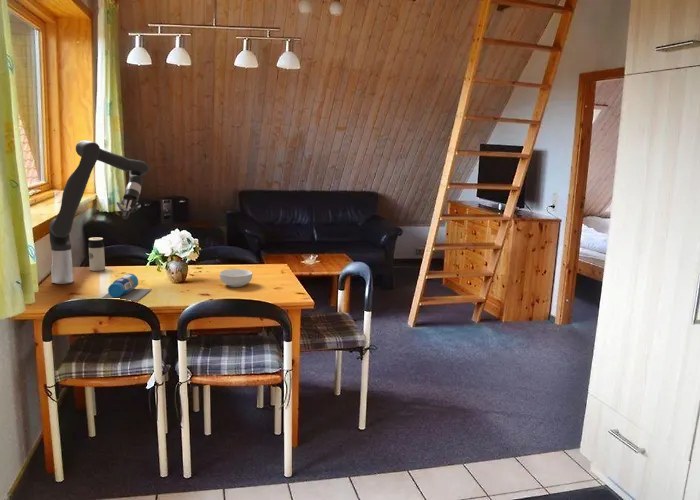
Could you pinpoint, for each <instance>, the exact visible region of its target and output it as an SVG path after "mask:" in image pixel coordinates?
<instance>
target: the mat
mask: <svg viewBox="0 0 700 500" xmlns="http://www.w3.org/2000/svg"><path fill="white" fill-rule="evenodd" d="M151 291H152V289H151V288H134V289H133V290H131V291H130V292H129V293H127V294H125V295H122V296H119V297H112V296H111V295H110V294H109V293H108V292H107V293H106V294H104V295H103V296H101V298H120V299H126V300H131V301H137V302H139V301H140V300H142V298H144V297H146V295H147V294H149V293H150V292H151ZM131 301H130V302H131Z"/></svg>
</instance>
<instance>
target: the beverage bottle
mask: <svg viewBox="0 0 700 500" xmlns="http://www.w3.org/2000/svg"><path fill="white" fill-rule="evenodd" d="M138 285H139V278H138V277H137V276H136V275H135V274H134V273H130V272H129V273H126V274H124V275H122V276H121V277H118V278H116V280H114V281H113V282H112V283H111V284H110V285H109V286H108V289H107V294H108V293H109V294H110V295H111V296H112V297H119V296H122V295H125V294H127V293H129V292H130V291H131V290H133V289H137V287H138Z"/></svg>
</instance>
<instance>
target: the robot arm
mask: <svg viewBox="0 0 700 500" xmlns="http://www.w3.org/2000/svg"><path fill="white" fill-rule="evenodd" d="M75 152H76V153H77V155H78V156H79V157H80V160H79V163H78V166H77V167H76V169H75V170H74V171H73V172H72V173H71V174H70V176H69V177H68V179H67V180H66V183H65V185H64V188H63V192H62V196H61V201H60V202H61V204H60V209H59V211H58V213H57V216H56V217H55V218H53V219H52V220H51V221H50V223H49V226H48V231H49V243H50V247H51V259H52V260H51V261H52V264H51V265H50V273H51V275H50V276H51V283H52V284H53V283H54V284H57V285H60V284H61V285H62V284H63V285H65V284H71V283H73V282H74V269H73V256H72V243H71V239H70V233H71V231H72V229H73V228H72V227H73V224H74V219H75V215H76V212H77V210H78V208H79V207H80V203H81V201H82V198H83V197H84V194H85V191H86V188H87V184H88V183H89V182H88V181H89V180H90V177H91V174H92V171H93V169H94V167H95V165H96V163H97V162H98V161H99V162H102V163H104V164H106V165H108V166H112V167H113V168H116V169H119V170H121V171H123V172H129V174H128V175H129V178H128V183H127V185H126V187H125V190H124V193H123V196H122V197H123V198H122V199H121V201H120V202H119V201H118V202H116V205H117V207H118V209H119V211H120V212H121V213H122V219H124V220H127V219H128V218H129V216H130V214H133V213H135V212H136V211H138V210H139V209H140V208H141V207H142V206H141V203H140V202H138V201H139V198H140V196H141V191H142V185H143V183H144V180H143V177H142V176H144V175H146V174H147V173H148V172H149V171H150V167H149V165H148V164H147V162H145V161H142V160H137V159H131V158H127V157H125V156H122V155H120V154H117V153H114V152H111V151H107V150H104V149H102V148H100V145H99V144H98V143H97V142H95V141H90V140H80V141H79V142H77V143H76V145H75ZM122 206H123V207H122Z"/></svg>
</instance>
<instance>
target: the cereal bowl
mask: <svg viewBox="0 0 700 500" xmlns="http://www.w3.org/2000/svg"><path fill="white" fill-rule="evenodd" d="M219 279H220V281H221V282H222V283H223V284H225V285H227V286H228V287H231V288H242V287H244V286H245V285H247V284H250V282H251V281H252V280H253V272H252V271H251V270H248V269H240V268H231V269H230V268H229V269H224V270H221V271H220V272H219Z"/></svg>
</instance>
